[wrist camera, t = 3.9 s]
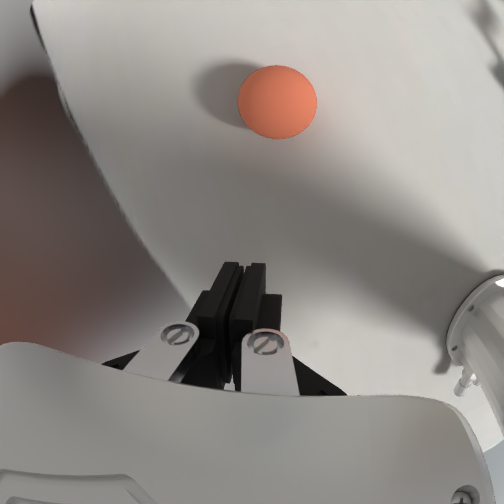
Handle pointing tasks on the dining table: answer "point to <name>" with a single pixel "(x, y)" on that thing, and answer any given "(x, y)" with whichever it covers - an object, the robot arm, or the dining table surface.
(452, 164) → the dining table surface
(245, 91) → the ball
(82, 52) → the dining table surface
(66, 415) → the robot arm
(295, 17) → the dining table surface
